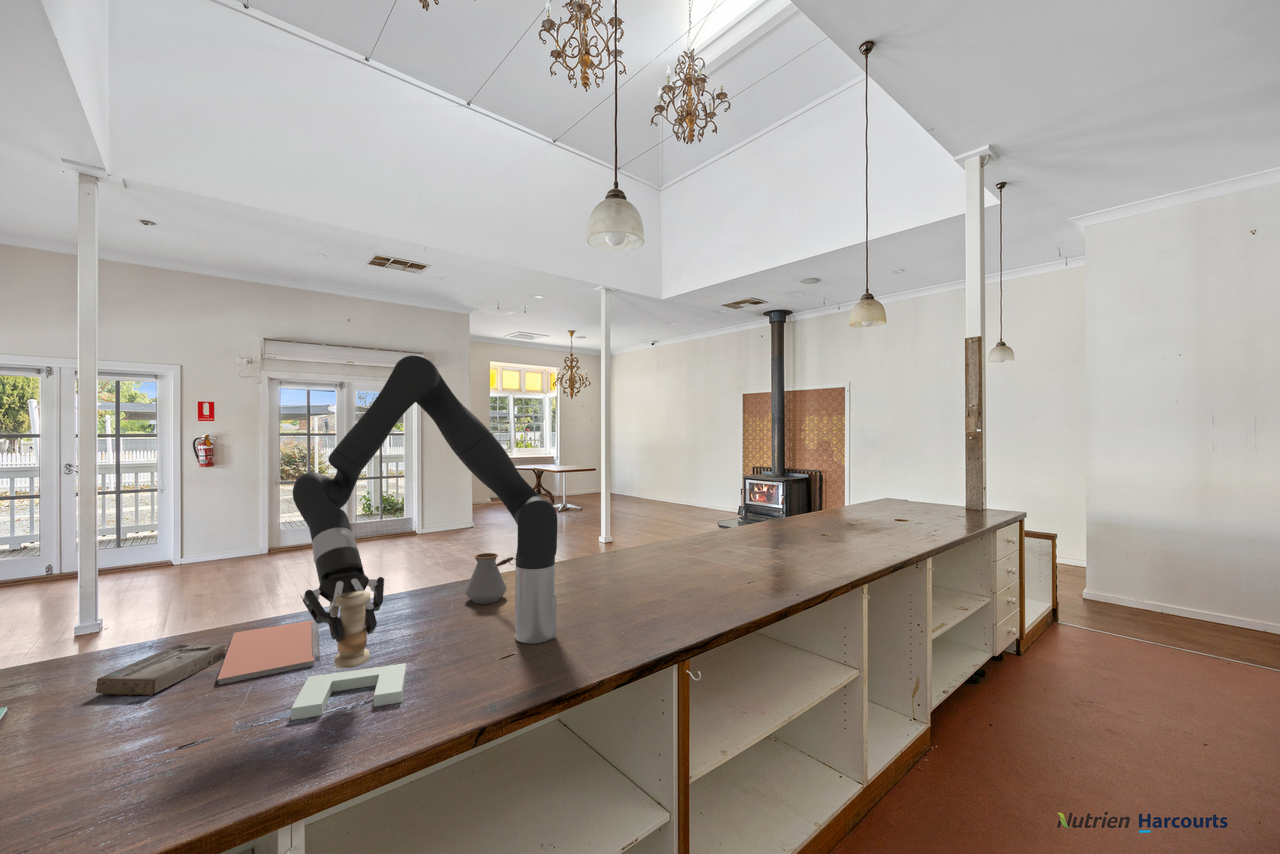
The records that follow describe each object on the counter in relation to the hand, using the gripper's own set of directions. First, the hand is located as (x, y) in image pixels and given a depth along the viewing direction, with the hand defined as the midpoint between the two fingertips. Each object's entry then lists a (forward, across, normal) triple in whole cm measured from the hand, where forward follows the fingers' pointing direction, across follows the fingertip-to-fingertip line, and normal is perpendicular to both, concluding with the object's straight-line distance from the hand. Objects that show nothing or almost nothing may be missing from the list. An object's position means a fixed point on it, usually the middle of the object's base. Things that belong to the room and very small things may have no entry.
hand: (356, 634), depth 93 cm
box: (-18, -23, +36) cm, 46 cm away
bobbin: (+2, 0, +5) cm, 6 cm away
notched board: (+6, +1, +11) cm, 13 cm away
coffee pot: (-13, +46, +30) cm, 56 cm away
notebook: (-17, -5, +35) cm, 39 cm away
